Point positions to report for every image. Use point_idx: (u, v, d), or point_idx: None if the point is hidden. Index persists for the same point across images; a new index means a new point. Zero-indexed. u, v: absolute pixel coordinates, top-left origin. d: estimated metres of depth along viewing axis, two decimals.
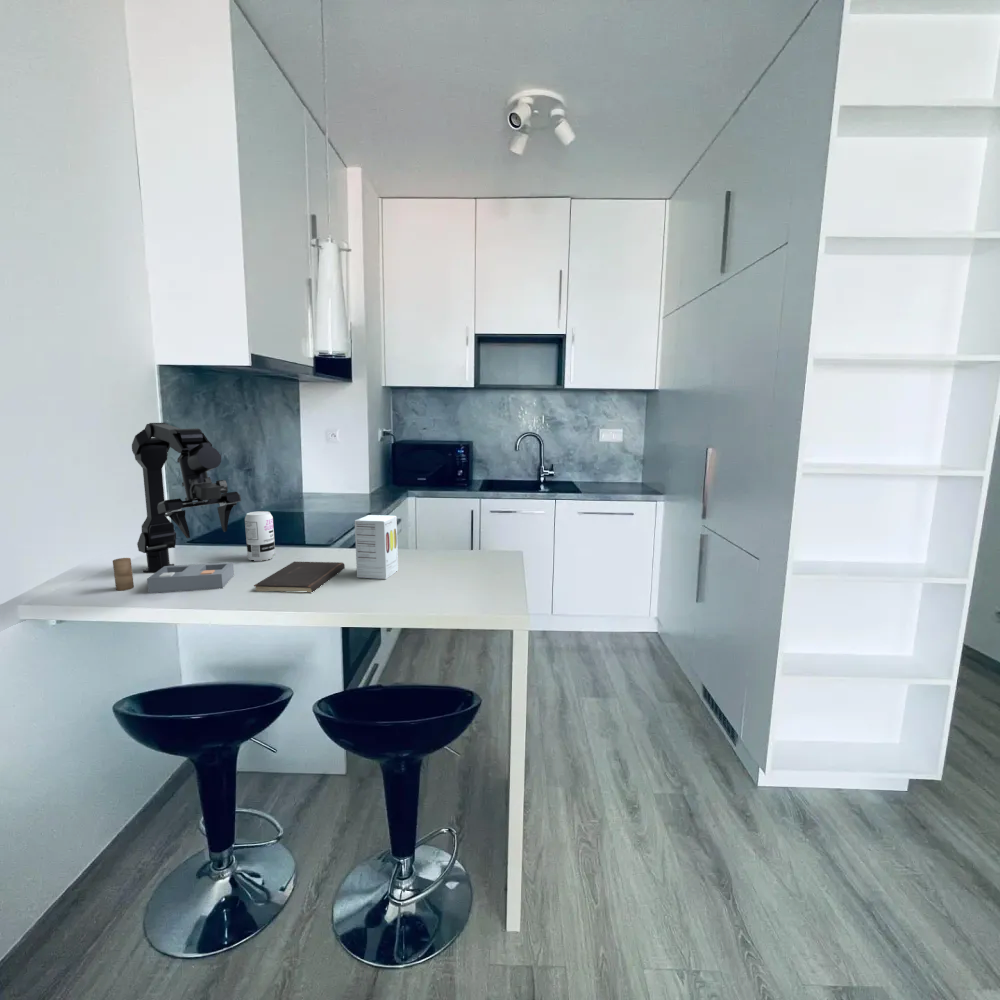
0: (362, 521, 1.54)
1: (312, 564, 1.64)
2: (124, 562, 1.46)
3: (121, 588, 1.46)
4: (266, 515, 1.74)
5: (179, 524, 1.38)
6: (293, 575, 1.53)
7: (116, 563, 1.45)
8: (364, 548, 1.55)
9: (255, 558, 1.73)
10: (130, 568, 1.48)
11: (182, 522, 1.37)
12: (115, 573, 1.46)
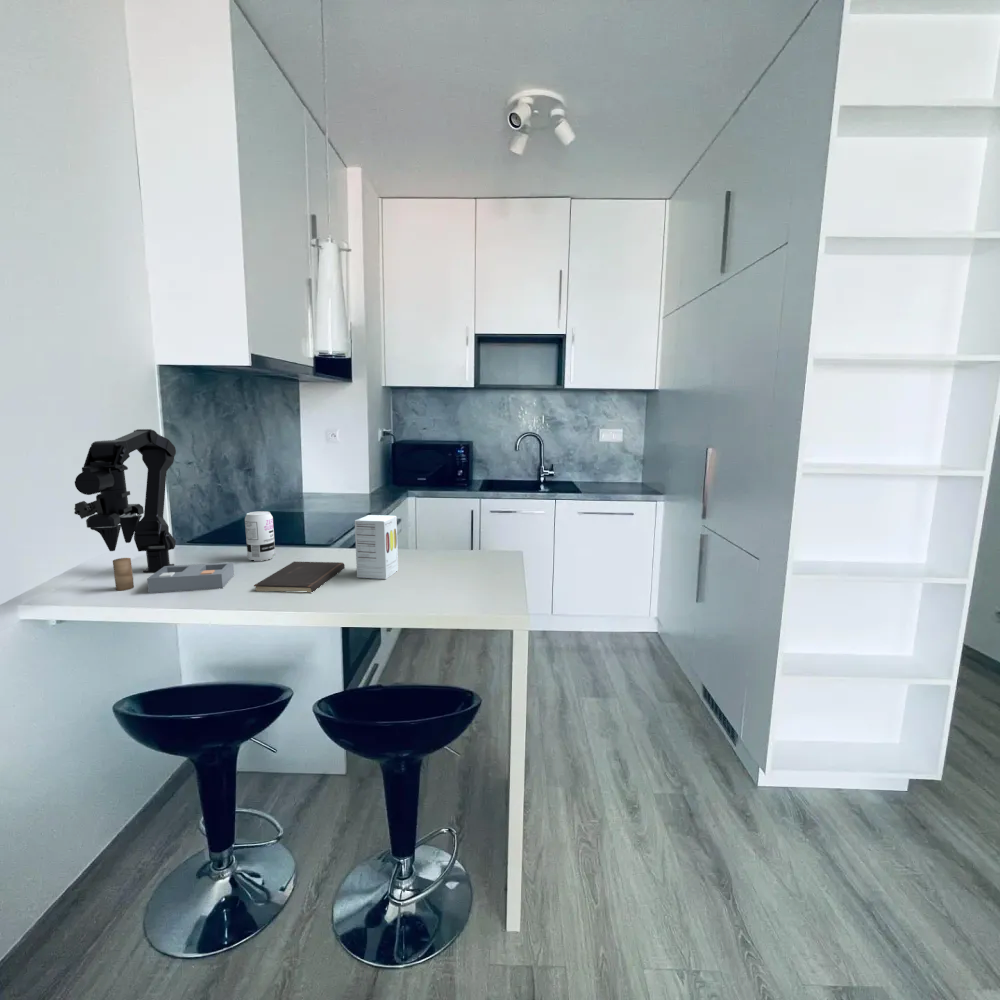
0: (362, 521, 1.54)
1: (312, 564, 1.64)
2: (124, 562, 1.46)
3: (121, 588, 1.46)
4: (266, 515, 1.74)
5: None
6: (293, 575, 1.53)
7: (116, 563, 1.45)
8: (364, 548, 1.55)
9: (255, 558, 1.73)
10: (130, 568, 1.48)
11: None
12: (115, 573, 1.46)
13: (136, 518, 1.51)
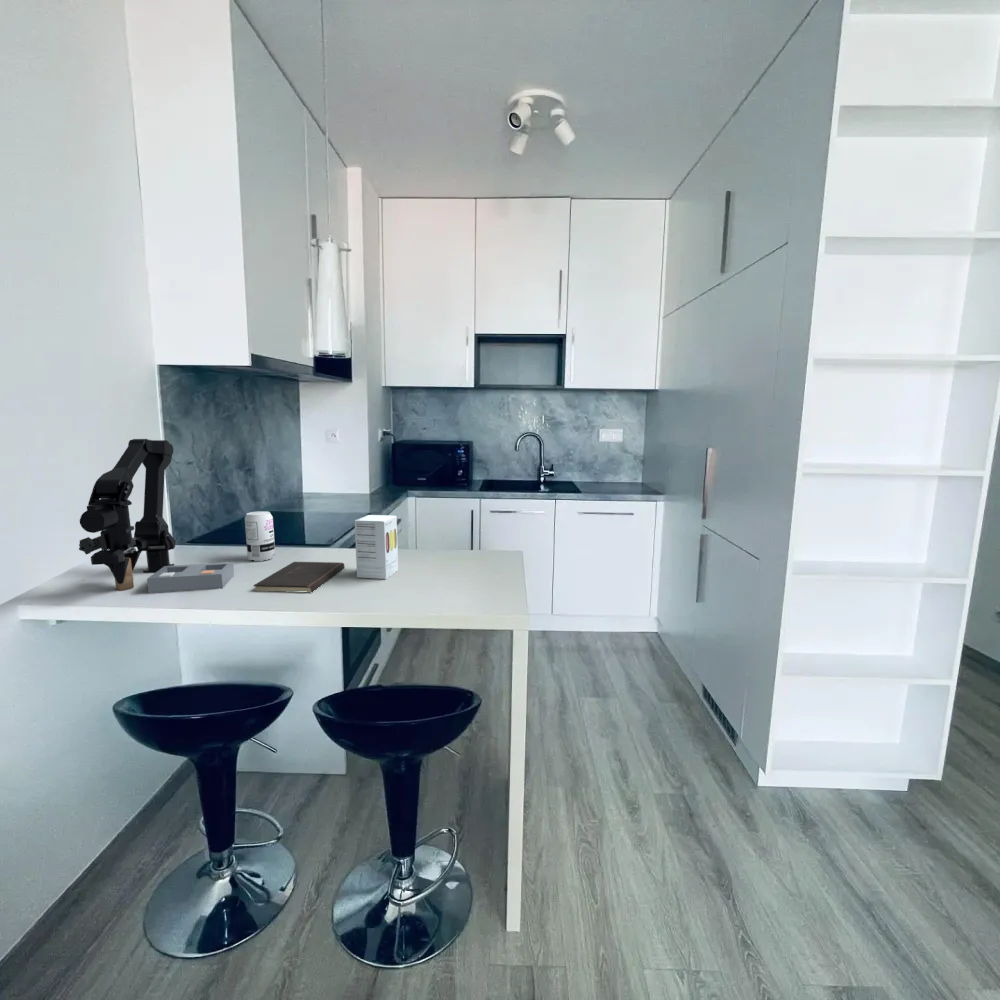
0: (362, 521, 1.54)
1: (312, 564, 1.64)
2: None
3: (121, 588, 1.46)
4: (266, 515, 1.74)
5: None
6: (293, 575, 1.53)
7: None
8: (364, 548, 1.55)
9: (255, 558, 1.73)
10: (130, 568, 1.48)
11: None
12: None
13: (136, 554, 1.50)
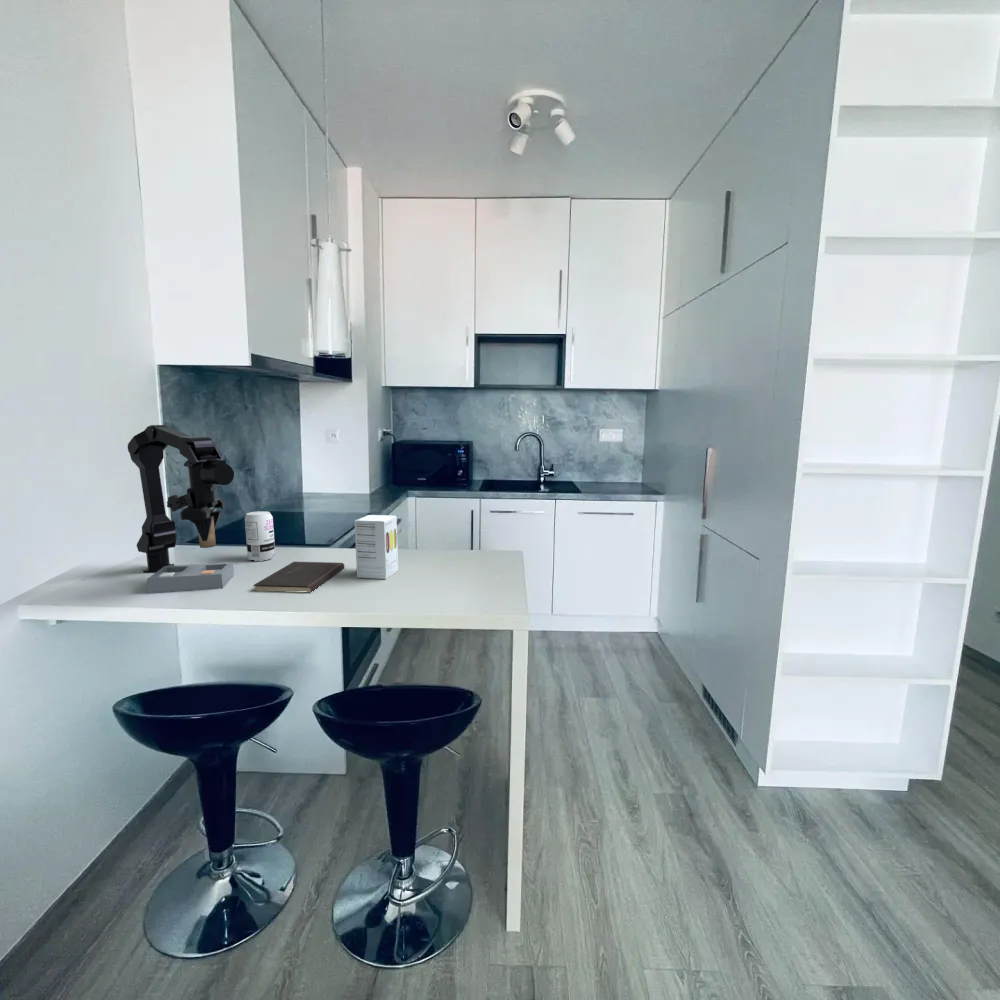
0: (362, 521, 1.54)
1: (312, 564, 1.64)
2: None
3: (205, 545, 1.50)
4: (266, 515, 1.74)
5: None
6: (293, 575, 1.53)
7: None
8: (364, 548, 1.55)
9: (255, 558, 1.73)
10: (213, 526, 1.51)
11: None
12: None
13: (218, 513, 1.54)
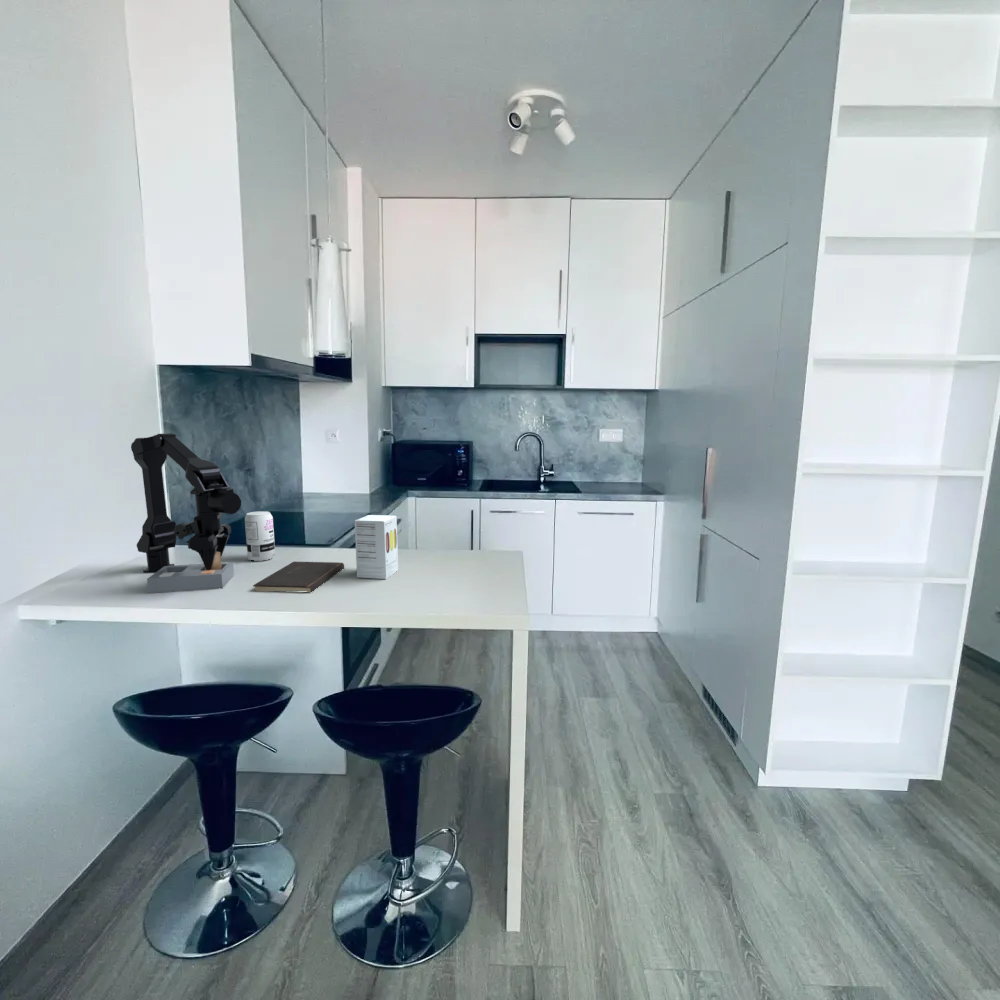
0: (362, 521, 1.54)
1: (312, 564, 1.64)
2: (215, 555, 1.52)
3: None
4: (266, 515, 1.74)
5: None
6: (293, 575, 1.53)
7: None
8: (364, 548, 1.55)
9: (255, 558, 1.73)
10: (220, 561, 1.54)
11: None
12: None
13: (225, 538, 1.58)
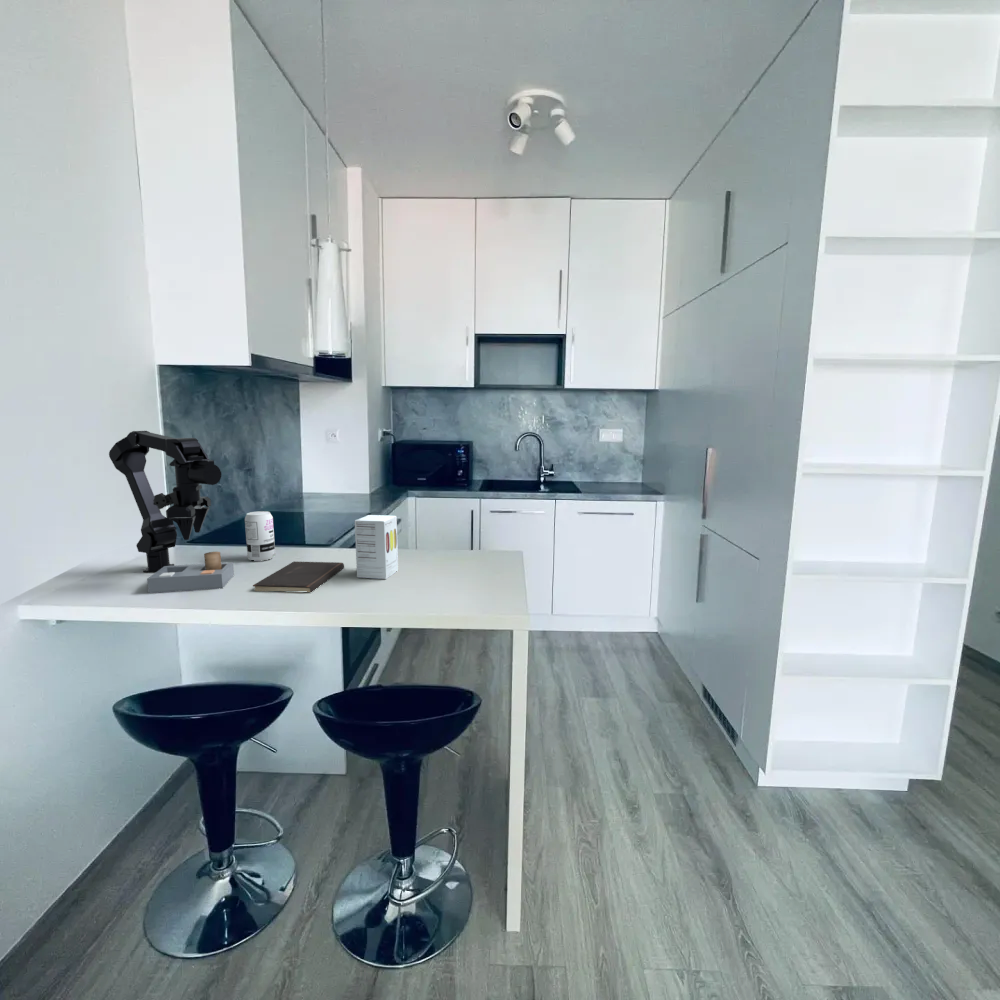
0: (362, 521, 1.54)
1: (311, 564, 1.64)
2: (215, 555, 1.52)
3: None
4: (266, 515, 1.74)
5: None
6: (293, 575, 1.53)
7: (208, 556, 1.51)
8: (364, 548, 1.55)
9: (255, 558, 1.73)
10: (220, 562, 1.54)
11: None
12: (206, 566, 1.52)
13: (205, 510, 1.62)
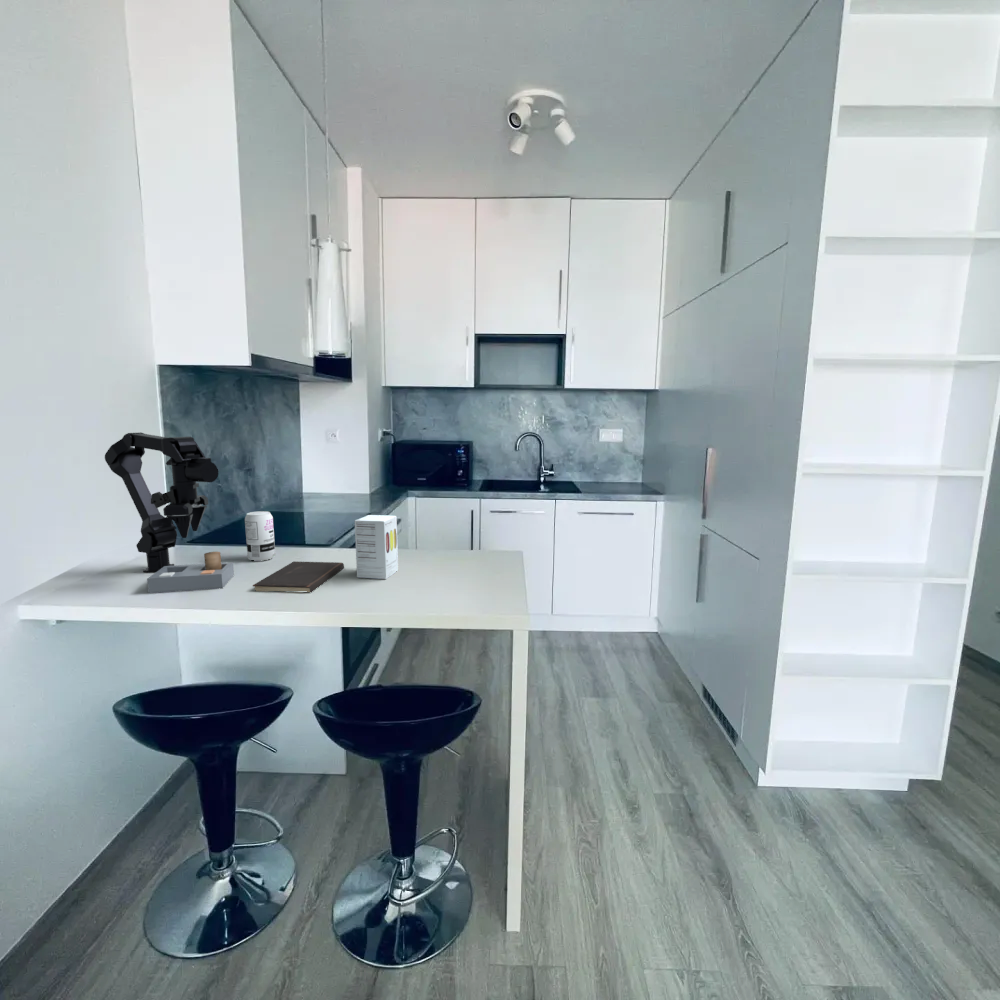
0: (362, 521, 1.54)
1: (311, 564, 1.64)
2: (215, 555, 1.52)
3: None
4: (266, 515, 1.74)
5: None
6: (292, 575, 1.53)
7: (208, 556, 1.51)
8: (364, 548, 1.55)
9: (255, 558, 1.73)
10: (220, 562, 1.54)
11: None
12: (207, 566, 1.52)
13: (202, 508, 1.63)
